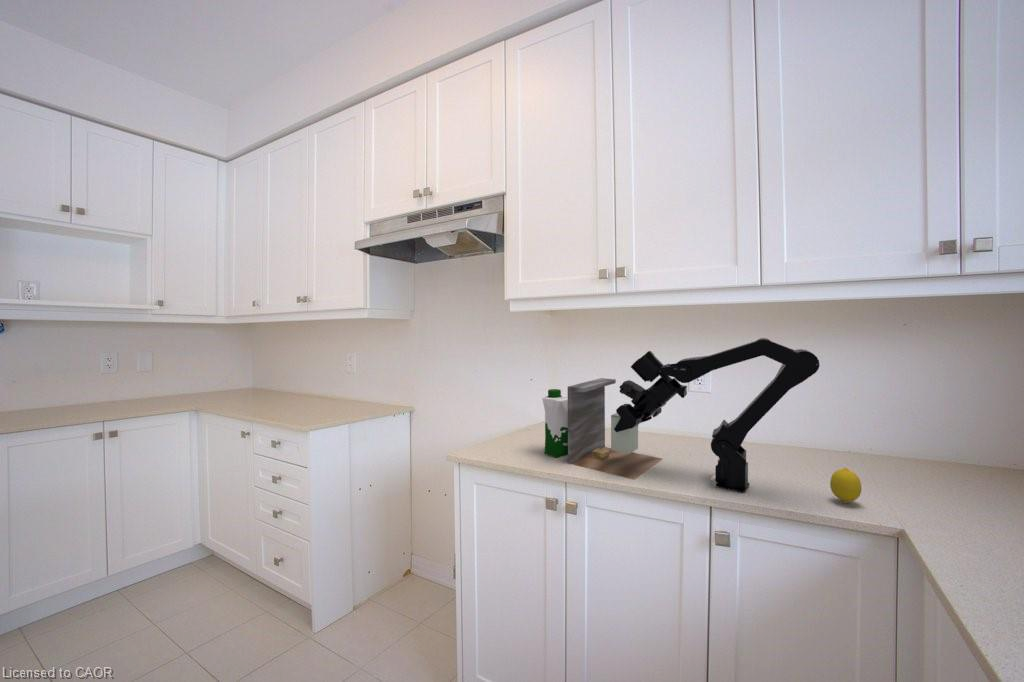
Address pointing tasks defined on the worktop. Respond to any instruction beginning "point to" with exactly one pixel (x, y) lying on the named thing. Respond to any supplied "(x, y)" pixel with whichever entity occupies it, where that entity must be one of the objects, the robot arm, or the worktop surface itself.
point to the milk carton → (556, 423)
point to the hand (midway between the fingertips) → (620, 428)
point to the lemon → (845, 485)
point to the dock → (598, 434)
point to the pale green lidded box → (623, 437)
